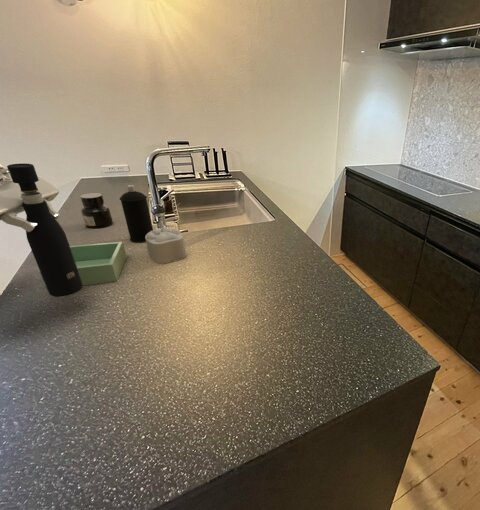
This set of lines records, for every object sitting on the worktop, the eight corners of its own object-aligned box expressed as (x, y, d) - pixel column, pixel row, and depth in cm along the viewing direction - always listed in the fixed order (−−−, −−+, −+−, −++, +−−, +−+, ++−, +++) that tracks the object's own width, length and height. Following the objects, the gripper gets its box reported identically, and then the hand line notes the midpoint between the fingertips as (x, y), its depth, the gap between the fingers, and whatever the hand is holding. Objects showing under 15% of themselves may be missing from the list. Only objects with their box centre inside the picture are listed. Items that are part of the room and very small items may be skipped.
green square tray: (47, 289, 83) (39, 272, 80) (66, 262, 96) (60, 246, 93) (117, 281, 89) (112, 264, 87) (126, 256, 102) (122, 241, 100)
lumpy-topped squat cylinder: (156, 265, 98) (150, 241, 95) (144, 250, 107) (139, 227, 103) (189, 257, 105) (185, 233, 101) (176, 243, 113) (172, 222, 109)
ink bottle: (84, 222, 124) (75, 193, 118) (110, 218, 129) (102, 191, 124) (87, 230, 117) (78, 200, 112) (115, 226, 123) (107, 197, 118)
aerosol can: (153, 241, 113) (142, 188, 104) (127, 243, 110) (113, 189, 101) (156, 233, 120) (146, 182, 111) (132, 234, 117) (119, 183, 108)
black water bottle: (55, 284, 76) (7, 161, 63) (86, 281, 79) (47, 162, 65) (44, 298, 71) (-11, 168, 58) (78, 295, 73) (33, 169, 60)
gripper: (13, 174, 72) (71, 216, 77) (-89, 200, 54) (-4, 252, 59) (27, 156, 70) (85, 200, 76) (-73, 176, 52) (12, 232, 58)
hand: (45, 223), depth 67 cm, fingers closed on black water bottle, 5 cm apart
